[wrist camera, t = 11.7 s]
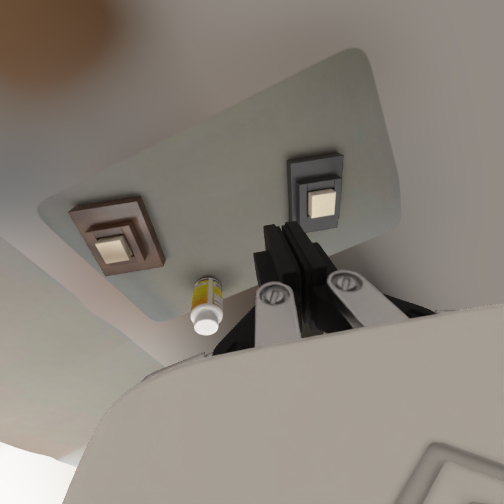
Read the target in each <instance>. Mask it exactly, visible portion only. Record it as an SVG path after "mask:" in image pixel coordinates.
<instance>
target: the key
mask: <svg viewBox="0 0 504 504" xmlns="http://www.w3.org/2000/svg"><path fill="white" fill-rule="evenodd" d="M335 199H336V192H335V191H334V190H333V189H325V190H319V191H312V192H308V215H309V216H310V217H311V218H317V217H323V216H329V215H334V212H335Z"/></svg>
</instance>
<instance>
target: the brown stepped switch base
mask: <svg viewBox="0 0 504 504" xmlns="http://www.w3.org/2000/svg"><path fill="white" fill-rule="evenodd" d="M68 213H69V215H70V217H71V218H72V220H73V222H74V223H75V225H76V227H77V229H78V230H79V232H80V234H81V235H82V237H83V239H84V240H85V242H86V244H87V246H88V247H89V249H90V251H91V252H92V254H93V256H94V257H95V259H96V261H97V263H98V264H99V266H100V268H101V269H102V271H103V273H104V275H105V276H110V275H116V274H122V273H128V272H134V271H140V270H146V269H152V268H158V267H163V266H164V263H165V260H166V259H165V257H164V254H163V251H162V249H161V246H160V244H159V241H158V239H157V236H156V234H155V231H154V228H153V226H152V223H151V221H150V218H149V216H148V213H147V210H146V208H145V205H144V203H143V200H142V198H141V196H140V197H134V198H127V199H121V200H115V201H108V202H102V203H95V204H89V205H83V206H76V207H74V208H73V209H72V210H70V211H69V212H68ZM118 235H124V236H125V239H126V241H127V243H128V245H129V247H130V249H131V251H132V253H133V255H132V256H131V258H130V260H127V261H120V262H114V263H108V264H106V263H105V261H104V259H103V258H102V256H101V254H100V252H99V251H98V249H97V247H96V245H95V243H96V242H97V241H98V240H99V239H100V238H105V237H111V236H118Z"/></svg>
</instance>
